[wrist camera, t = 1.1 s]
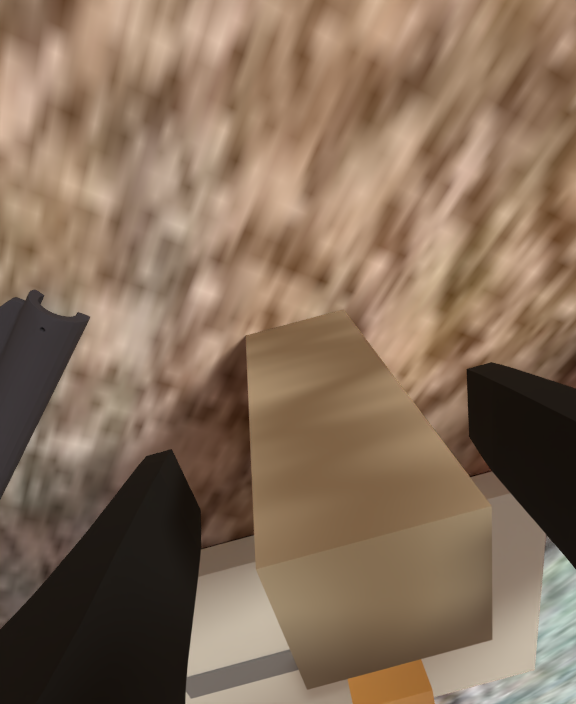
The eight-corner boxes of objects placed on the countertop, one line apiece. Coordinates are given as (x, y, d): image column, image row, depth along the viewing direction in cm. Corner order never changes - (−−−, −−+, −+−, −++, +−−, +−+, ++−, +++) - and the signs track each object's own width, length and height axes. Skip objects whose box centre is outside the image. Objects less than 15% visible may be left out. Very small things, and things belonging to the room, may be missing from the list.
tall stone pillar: (343, 309, 12) (491, 505, 5) (359, 392, 14) (492, 640, 6) (245, 335, 12) (255, 570, 5) (271, 416, 14) (307, 689, 6)
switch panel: (529, 461, 16) (552, 484, 15) (520, 645, 22) (535, 672, 21) (59, 587, 16) (45, 620, 15) (179, 737, 22) (176, 768, 21)
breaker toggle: (402, 610, 17) (432, 690, 14) (410, 654, 19) (438, 733, 16) (336, 628, 17) (354, 711, 14) (350, 670, 19) (368, 752, 16)
